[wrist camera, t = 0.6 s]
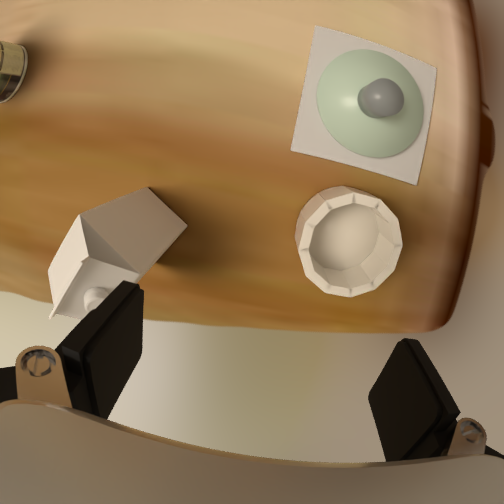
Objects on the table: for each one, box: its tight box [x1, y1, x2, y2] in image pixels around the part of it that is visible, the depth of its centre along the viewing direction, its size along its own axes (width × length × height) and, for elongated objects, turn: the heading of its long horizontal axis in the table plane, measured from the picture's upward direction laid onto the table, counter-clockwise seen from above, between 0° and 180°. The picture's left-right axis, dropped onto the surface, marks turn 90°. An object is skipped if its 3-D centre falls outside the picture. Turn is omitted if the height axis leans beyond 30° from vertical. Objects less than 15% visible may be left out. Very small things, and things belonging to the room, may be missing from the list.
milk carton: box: [48, 187, 187, 319], centre depth 28 cm, size 7×7×19 cm
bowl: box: [295, 186, 403, 297], centre depth 33 cm, size 11×11×6 cm
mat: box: [290, 25, 437, 185], centre depth 30 cm, size 16×16×1 cm
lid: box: [316, 49, 424, 158], centre depth 27 cm, size 13×13×5 cm
